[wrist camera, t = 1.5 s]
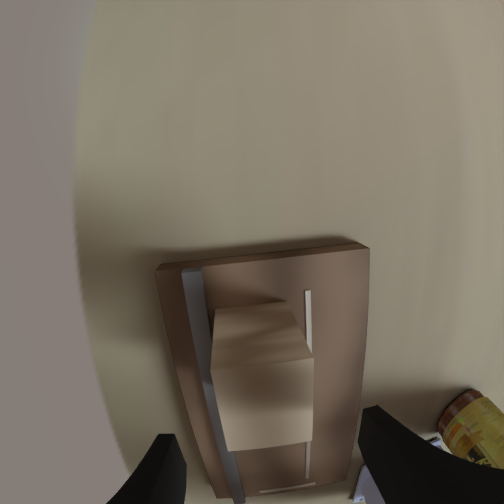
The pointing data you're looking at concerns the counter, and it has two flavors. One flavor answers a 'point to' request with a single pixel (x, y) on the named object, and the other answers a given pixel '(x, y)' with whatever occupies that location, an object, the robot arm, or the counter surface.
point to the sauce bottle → (474, 429)
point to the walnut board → (319, 342)
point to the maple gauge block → (262, 376)
